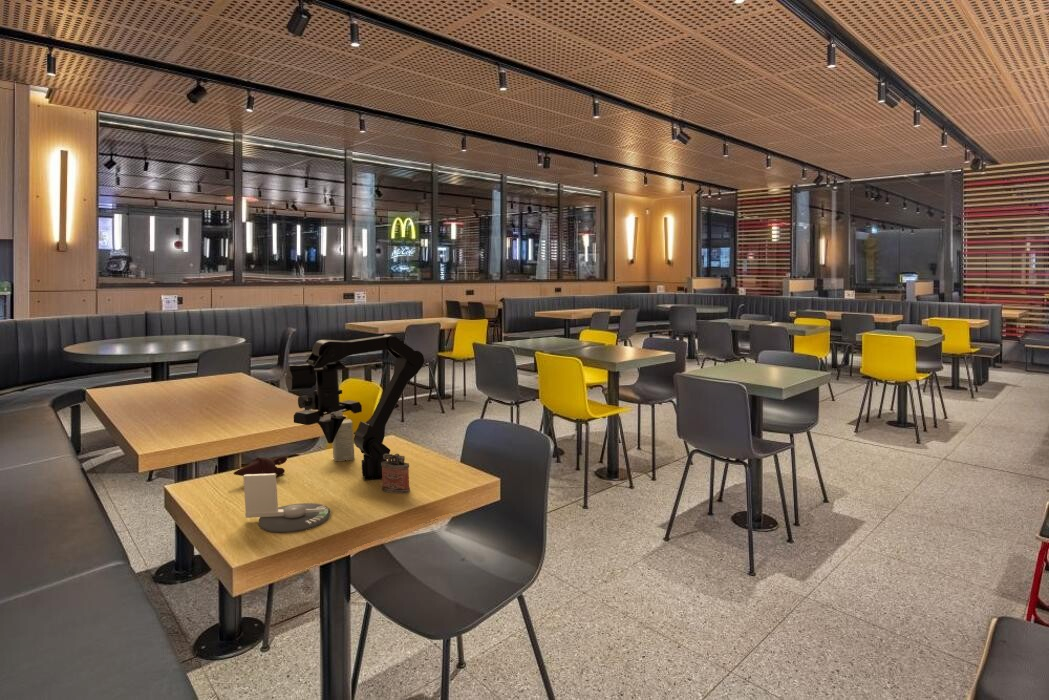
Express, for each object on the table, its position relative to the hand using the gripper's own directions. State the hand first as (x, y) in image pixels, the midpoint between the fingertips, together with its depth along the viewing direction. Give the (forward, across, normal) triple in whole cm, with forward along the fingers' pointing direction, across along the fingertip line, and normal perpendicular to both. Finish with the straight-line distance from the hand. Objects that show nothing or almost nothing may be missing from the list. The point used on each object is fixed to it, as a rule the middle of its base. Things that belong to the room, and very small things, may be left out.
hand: (330, 443), depth 168 cm
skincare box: (+12, -18, -16) cm, 27 cm away
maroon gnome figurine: (+12, +8, -21) cm, 25 cm away
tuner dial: (+12, +20, +11) cm, 26 cm away
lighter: (+12, -6, +18) cm, 23 cm away
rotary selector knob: (+11, +22, +10) cm, 26 cm away
